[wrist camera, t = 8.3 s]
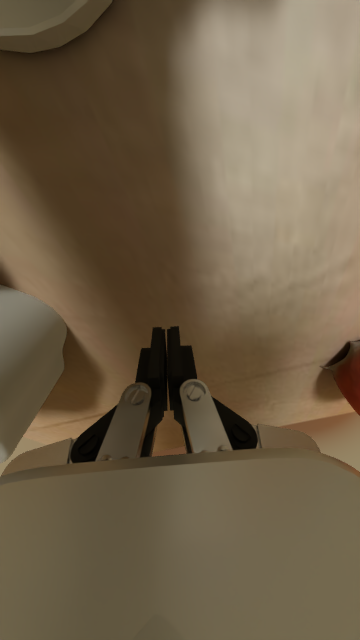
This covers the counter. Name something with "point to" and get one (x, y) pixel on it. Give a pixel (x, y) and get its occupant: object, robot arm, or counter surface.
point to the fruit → (349, 375)
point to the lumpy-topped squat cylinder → (26, 362)
